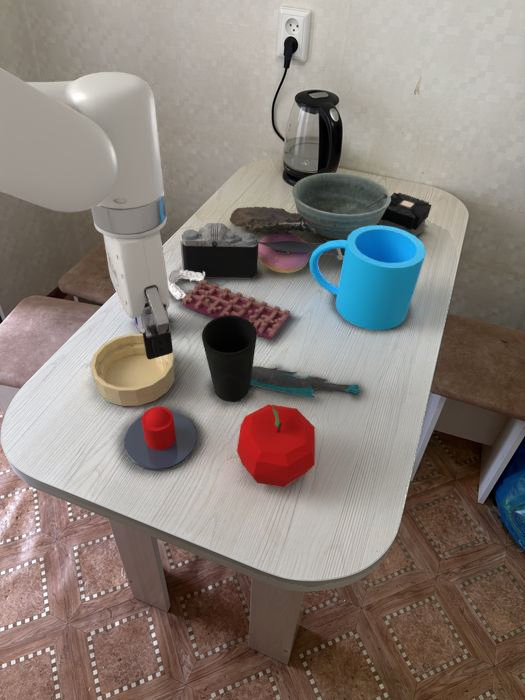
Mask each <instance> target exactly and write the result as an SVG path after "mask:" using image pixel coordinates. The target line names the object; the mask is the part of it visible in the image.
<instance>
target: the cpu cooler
mask: <svg viewBox="0 0 525 700" xmlns="http://www.w3.org/2000/svg"><path fill="white" fill-rule="evenodd" d="M390 196H391V202H390V204H389V206H388V207H387V208H386V210H385V212H384V214H383V216H382V218H381V219H380V220H379V222H378V224H379V225H383V226H389V227H395V228H398V229H401V230H404V231H406V232H408V233H410V234H412V235H414V236H415V237H416V236H417V235H420V234H422V233H423V230H424V227H425V225H426V220H427V219H428V218H429V215H430V212H431V209H432V204H430V202H429V201H425V200H424V199H420V198H417V197H415V196H411V195H408V194H406V193H402V192H398V193H397V192H393V193H392V194H390Z"/></svg>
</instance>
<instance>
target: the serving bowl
mask: <svg viewBox="0 0 525 700" xmlns="http://www.w3.org/2000/svg"><path fill="white" fill-rule="evenodd" d="M175 364H176V363H175V353H174V351H173V352H172V353H171V354H168V355H164V356H161V357H157V358H154V359H148V358H147V356H146V351H145V345H144V339H143V333H126V334H123V335H119V336H115V337H114V338H111V339H110V340H107V342H105V343H103V344H102V345H101V346H100V347H99V348H98V349H97V350H96V351H95V353H94V354H93V355H92V359H91V362H90V370H91V373H92V374H91V375H92V377H93V382H94V384H95V388H96V390H97V393H98V394H99V395H100V396H101V397H103V398H104V399H105V400H106V401H107V402H108V403H109V402H110V403H112V404H115V405H118V406H121V407H130V406H131V407H132V406H133V407H135V406H137V407H138V406H142V405H145V404H148V403H151V402H154V401H156V400H158V399H159V398H160V397H162V396H164V395H165V394H167V393H168V391H169V389H171V387H172V385H174V382H175V378H176V365H175Z"/></svg>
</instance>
